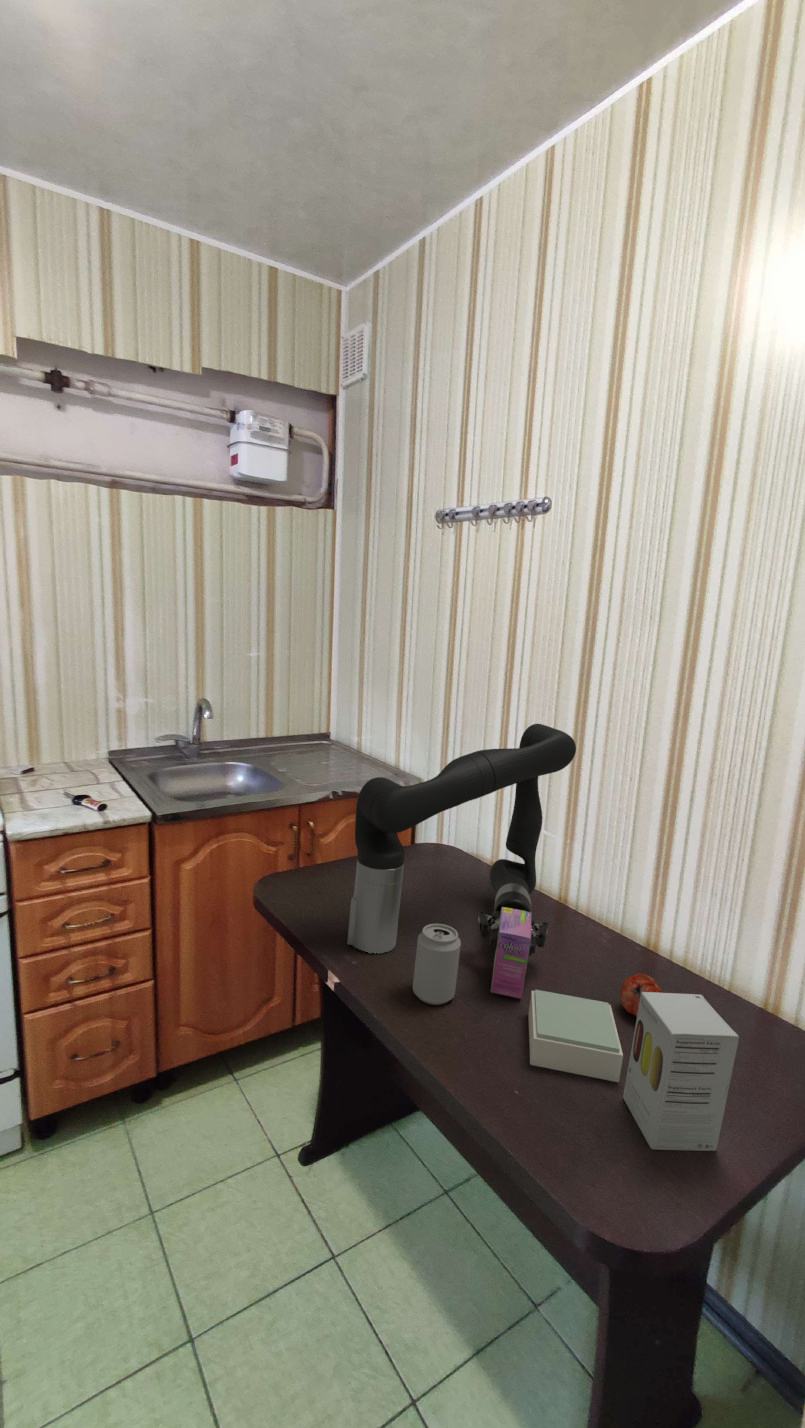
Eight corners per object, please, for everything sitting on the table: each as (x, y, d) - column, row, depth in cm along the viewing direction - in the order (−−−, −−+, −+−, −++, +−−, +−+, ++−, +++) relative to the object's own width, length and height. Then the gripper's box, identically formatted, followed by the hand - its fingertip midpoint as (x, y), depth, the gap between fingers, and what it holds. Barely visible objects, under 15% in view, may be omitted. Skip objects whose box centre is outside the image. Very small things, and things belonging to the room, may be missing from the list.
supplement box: (620, 1096, 93) (638, 989, 90) (681, 1098, 94) (701, 991, 91) (651, 1152, 84) (672, 1033, 81) (719, 1153, 85) (741, 1035, 82)
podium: (530, 1064, 98) (534, 1034, 97) (528, 1014, 111) (532, 987, 110) (618, 1082, 96) (623, 1051, 95) (606, 1028, 109) (611, 1001, 108)
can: (459, 989, 116) (466, 926, 114) (448, 1012, 109) (456, 946, 107) (419, 978, 118) (426, 916, 117) (406, 1000, 111) (413, 935, 110)
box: (522, 999, 114) (531, 937, 112) (490, 993, 115) (498, 931, 113) (523, 969, 124) (531, 911, 122) (493, 963, 125) (501, 905, 123)
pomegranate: (625, 1009, 119) (602, 989, 113) (649, 977, 120) (627, 956, 114) (657, 1037, 113) (635, 1018, 107) (682, 1003, 114) (661, 982, 108)
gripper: (480, 884, 135) (475, 921, 118) (550, 896, 133) (555, 935, 116) (476, 918, 136) (470, 959, 119) (545, 930, 134) (549, 974, 117)
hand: (512, 947), depth 118 cm, fingers closed on box, 5 cm apart
